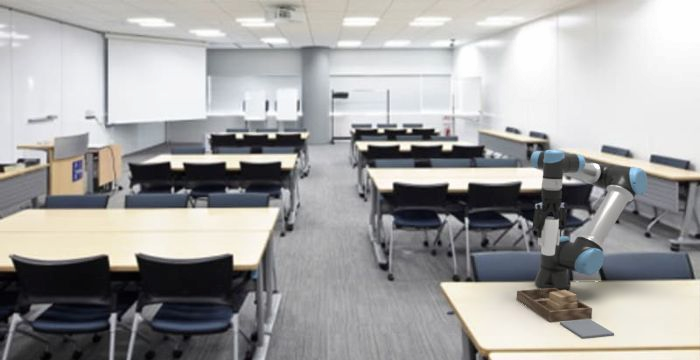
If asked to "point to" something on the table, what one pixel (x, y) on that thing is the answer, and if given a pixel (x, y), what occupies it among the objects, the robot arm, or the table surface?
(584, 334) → the mat
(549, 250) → the drinking glass
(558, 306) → the offcut middle
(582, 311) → the tray
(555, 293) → the offcut top
